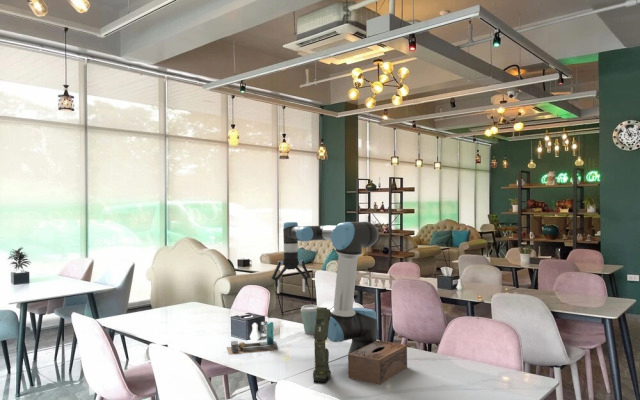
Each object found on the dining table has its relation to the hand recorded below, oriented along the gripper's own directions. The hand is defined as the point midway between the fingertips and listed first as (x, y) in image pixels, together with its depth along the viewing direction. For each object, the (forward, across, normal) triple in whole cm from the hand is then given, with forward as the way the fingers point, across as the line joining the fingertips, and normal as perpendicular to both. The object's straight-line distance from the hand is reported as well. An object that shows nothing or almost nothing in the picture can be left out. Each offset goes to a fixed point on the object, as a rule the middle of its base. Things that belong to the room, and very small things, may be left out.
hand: (291, 292), depth 255 cm
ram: (+24, +13, +8) cm, 29 cm away
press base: (+27, +21, +8) cm, 35 cm away
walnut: (+25, +26, +8) cm, 37 cm away
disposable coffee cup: (+27, -14, -19) cm, 36 cm away
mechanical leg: (+27, -2, +54) cm, 61 cm away
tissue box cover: (+27, -27, +54) cm, 66 cm away
